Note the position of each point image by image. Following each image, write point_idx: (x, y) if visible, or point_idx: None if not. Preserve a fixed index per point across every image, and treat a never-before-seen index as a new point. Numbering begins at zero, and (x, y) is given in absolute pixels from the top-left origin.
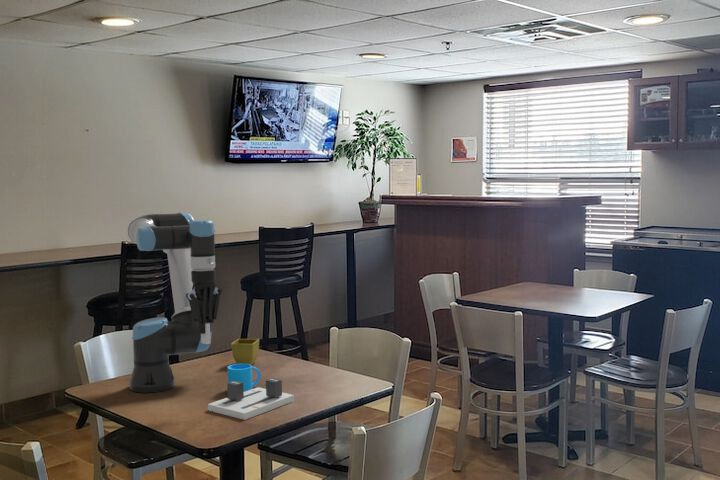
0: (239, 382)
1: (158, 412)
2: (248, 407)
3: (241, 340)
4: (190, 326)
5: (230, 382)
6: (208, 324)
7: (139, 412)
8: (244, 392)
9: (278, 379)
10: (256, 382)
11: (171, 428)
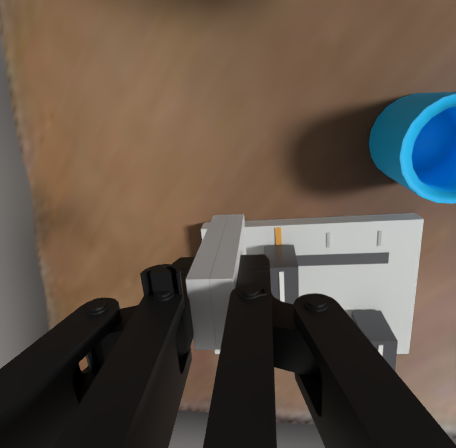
0: (294, 294)
1: (97, 121)
2: None
3: None
4: None
5: (276, 270)
6: (221, 342)
7: (55, 72)
8: (350, 227)
9: (394, 364)
10: None
11: (66, 257)
